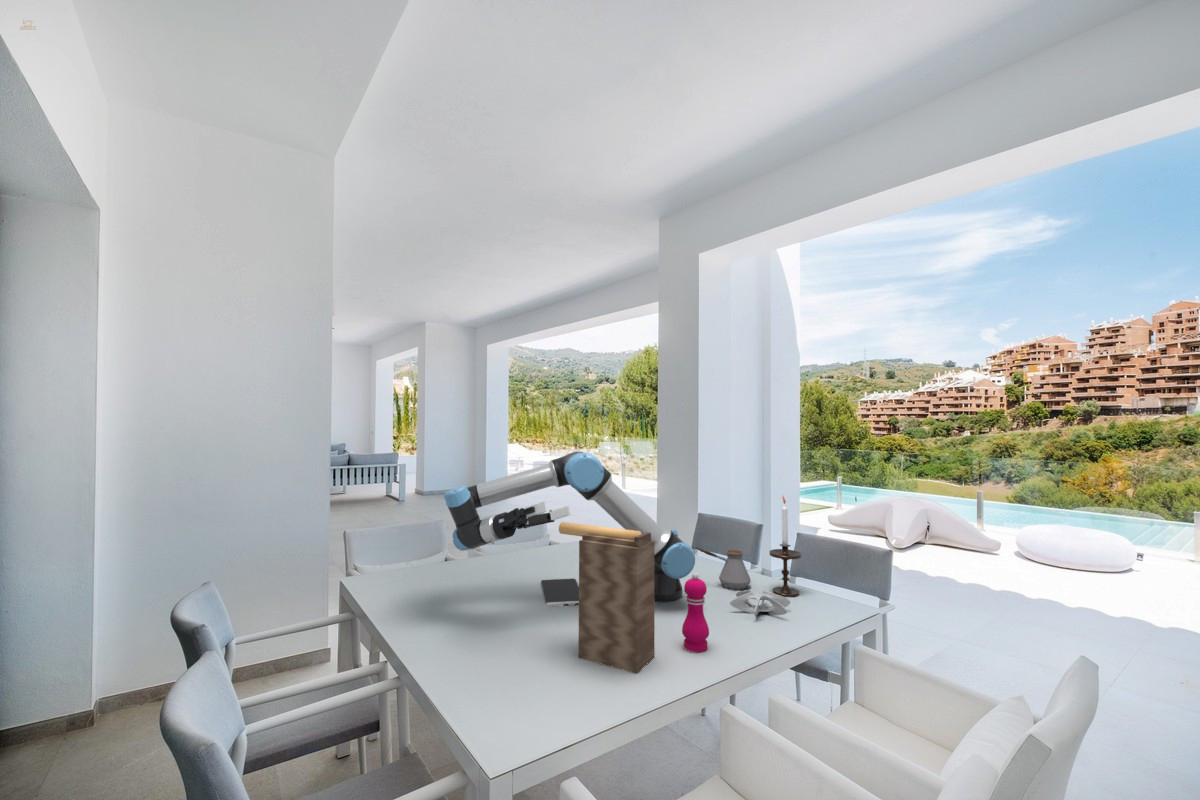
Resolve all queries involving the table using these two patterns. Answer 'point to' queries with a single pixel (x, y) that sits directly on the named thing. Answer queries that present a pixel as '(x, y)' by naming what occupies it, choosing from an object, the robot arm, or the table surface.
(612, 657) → the stand
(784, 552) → the candlestick
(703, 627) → the pepper mill
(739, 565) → the coffee pot
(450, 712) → the table surface
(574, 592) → the smartphone
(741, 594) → the sculpture
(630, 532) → the pin
